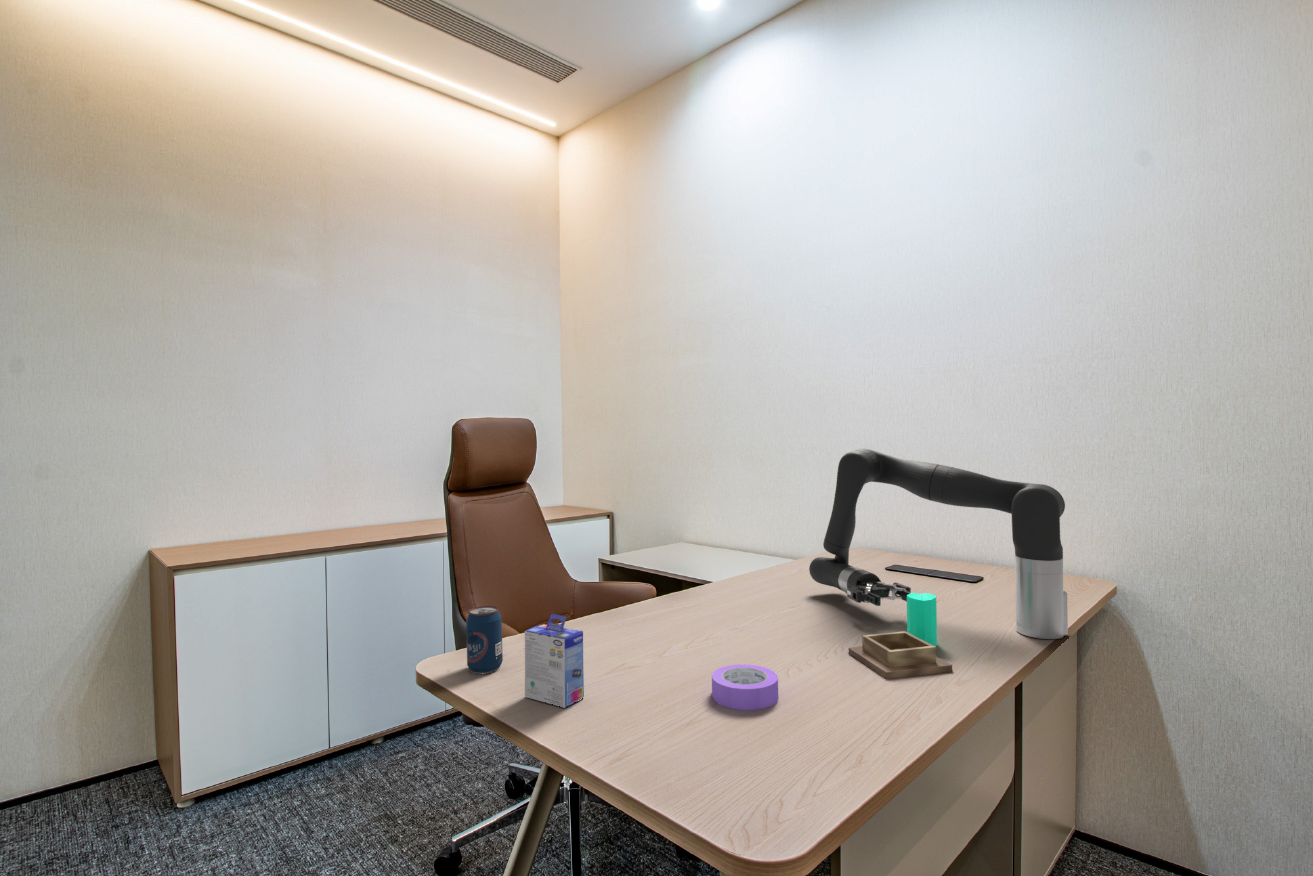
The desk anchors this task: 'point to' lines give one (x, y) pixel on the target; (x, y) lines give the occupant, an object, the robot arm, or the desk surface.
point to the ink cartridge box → (554, 663)
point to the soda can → (484, 639)
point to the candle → (922, 617)
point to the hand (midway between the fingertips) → (896, 600)
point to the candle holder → (899, 655)
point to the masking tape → (745, 687)
